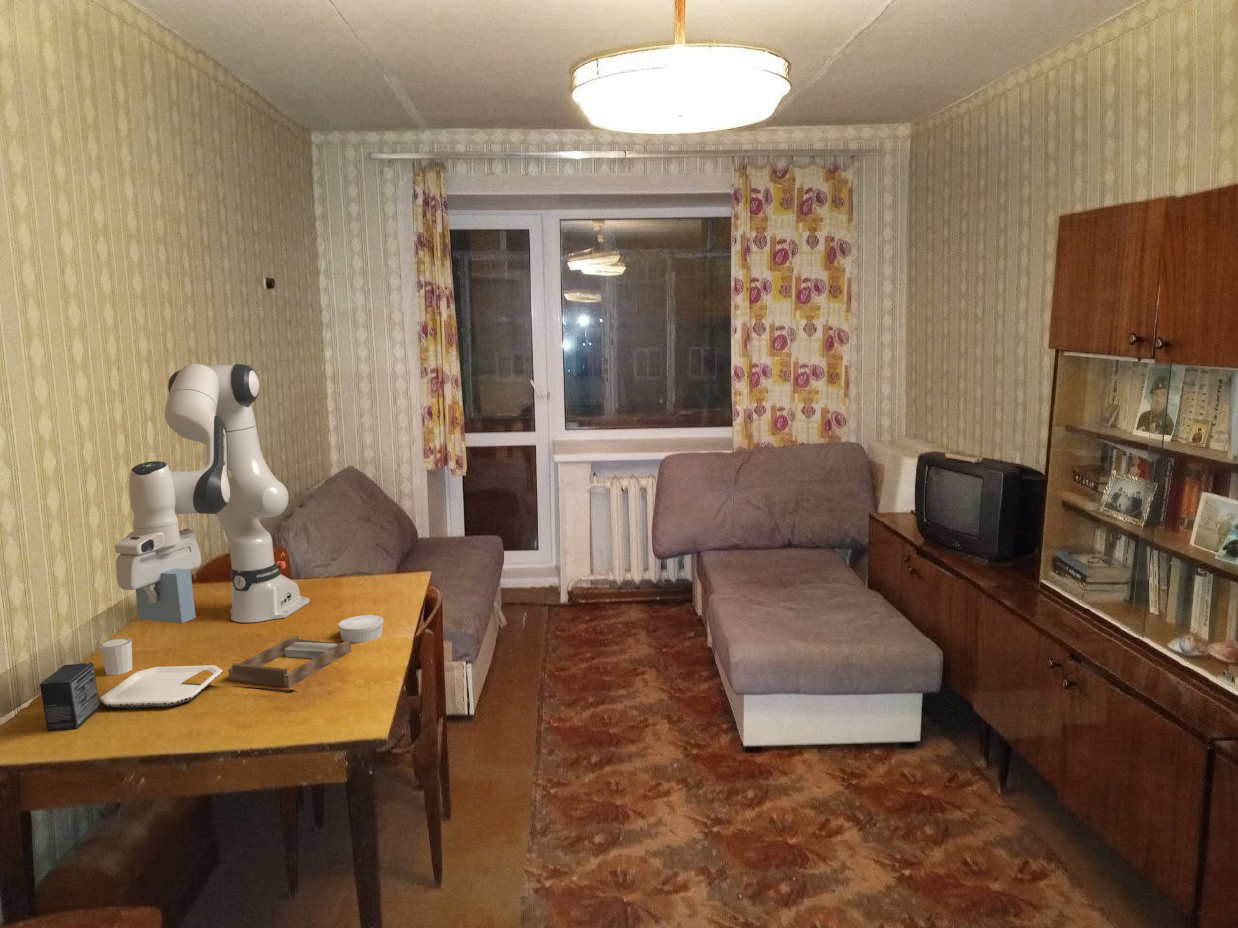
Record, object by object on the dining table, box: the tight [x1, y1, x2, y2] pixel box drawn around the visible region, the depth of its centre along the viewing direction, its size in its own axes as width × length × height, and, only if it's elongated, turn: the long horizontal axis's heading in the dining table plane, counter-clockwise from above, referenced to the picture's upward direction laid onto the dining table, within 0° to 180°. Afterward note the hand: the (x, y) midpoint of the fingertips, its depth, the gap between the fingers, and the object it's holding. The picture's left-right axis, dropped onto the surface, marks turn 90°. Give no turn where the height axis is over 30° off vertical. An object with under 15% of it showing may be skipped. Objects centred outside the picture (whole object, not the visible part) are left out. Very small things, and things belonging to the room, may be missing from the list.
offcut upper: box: [284, 642, 337, 660], centre depth 225 cm, size 5×11×2 cm, turn 76°
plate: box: [99, 664, 223, 709], centre depth 209 cm, size 21×21×2 cm
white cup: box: [98, 637, 133, 676], centre depth 223 cm, size 7×7×7 cm
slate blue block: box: [135, 568, 197, 624], centre depth 206 cm, size 4×12×11 cm, turn 71°
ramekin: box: [337, 614, 385, 644], centre depth 237 cm, size 11×11×5 cm
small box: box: [39, 662, 101, 732], centre depth 195 cm, size 11×6×10 cm, turn 5°
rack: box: [227, 635, 352, 694], centre depth 218 cm, size 23×16×5 cm
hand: (164, 598), depth 207 cm, fingers closed on slate blue block, 4 cm apart
